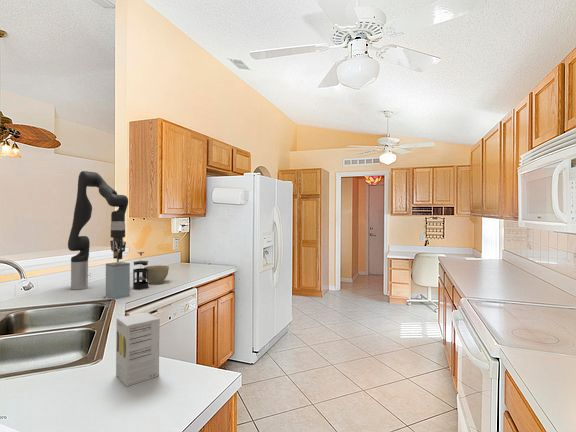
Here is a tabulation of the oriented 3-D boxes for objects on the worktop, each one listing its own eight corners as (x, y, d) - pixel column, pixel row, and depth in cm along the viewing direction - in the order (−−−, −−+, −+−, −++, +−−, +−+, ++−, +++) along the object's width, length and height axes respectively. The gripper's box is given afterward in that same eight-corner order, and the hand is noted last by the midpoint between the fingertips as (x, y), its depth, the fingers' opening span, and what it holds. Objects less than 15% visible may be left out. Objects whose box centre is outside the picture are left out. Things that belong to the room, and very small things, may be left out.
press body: (105, 296, 186) (105, 263, 186) (121, 293, 194) (122, 261, 194) (113, 299, 181) (113, 265, 181) (129, 296, 188) (129, 263, 188)
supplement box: (115, 375, 95) (115, 317, 95) (147, 365, 101) (147, 311, 101) (126, 387, 88) (126, 325, 88) (160, 375, 95) (160, 318, 95)
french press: (144, 289, 204) (145, 253, 204) (129, 289, 204) (129, 253, 204) (151, 285, 216) (152, 251, 216) (137, 285, 215) (137, 251, 215)
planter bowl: (148, 286, 214) (148, 269, 214) (140, 282, 227) (140, 266, 227) (172, 283, 225) (172, 267, 225) (164, 279, 237) (164, 264, 237)
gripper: (105, 229, 188) (105, 258, 188) (117, 229, 180) (117, 260, 180) (118, 228, 194) (118, 257, 194) (130, 229, 186) (130, 259, 186)
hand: (117, 258), depth 187 cm, fingers open, 4 cm apart
